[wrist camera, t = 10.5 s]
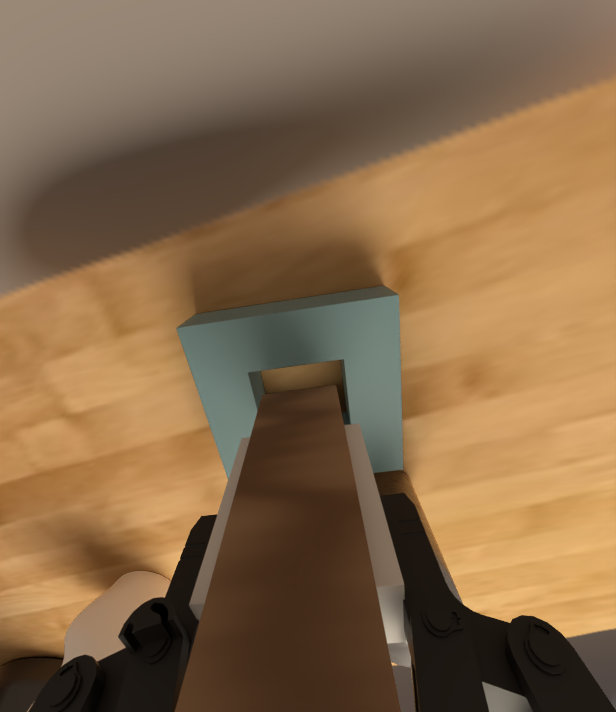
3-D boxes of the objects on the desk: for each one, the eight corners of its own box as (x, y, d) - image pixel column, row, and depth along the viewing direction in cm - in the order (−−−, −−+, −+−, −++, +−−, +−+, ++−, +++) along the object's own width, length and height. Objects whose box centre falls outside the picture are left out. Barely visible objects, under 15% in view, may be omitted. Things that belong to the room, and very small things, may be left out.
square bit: (276, 452, 17) (180, 1152, 4) (261, 394, 15) (32, 1230, 2) (343, 444, 17) (469, 1154, 4) (336, 384, 15) (505, 1245, 2)
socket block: (240, 459, 23) (231, 490, 20) (195, 313, 18) (176, 328, 16) (391, 440, 22) (403, 469, 20) (384, 285, 18) (398, 294, 15)
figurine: (100, 562, 28) (-36, 779, 17) (180, 571, 28) (101, 785, 17) (106, 604, 30) (-8, 815, 19) (179, 611, 31) (109, 819, 20)
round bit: (357, 515, 25) (385, 672, 16) (346, 472, 24) (370, 620, 14) (414, 505, 25) (477, 661, 16) (407, 460, 23) (473, 606, 14)
